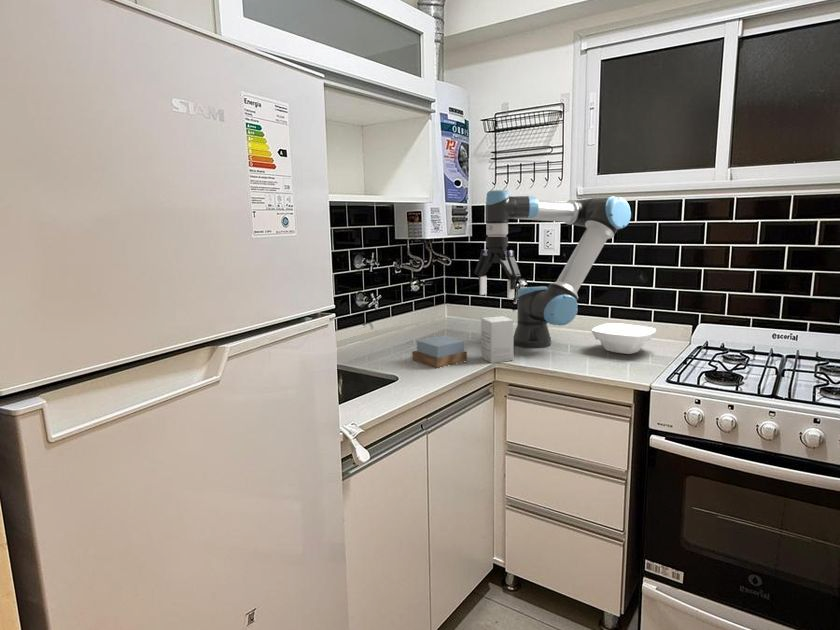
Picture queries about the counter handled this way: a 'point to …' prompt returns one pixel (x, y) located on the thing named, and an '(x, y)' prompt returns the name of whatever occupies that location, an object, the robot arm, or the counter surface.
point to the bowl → (623, 337)
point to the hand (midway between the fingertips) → (496, 296)
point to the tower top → (440, 346)
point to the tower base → (438, 359)
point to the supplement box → (497, 339)
